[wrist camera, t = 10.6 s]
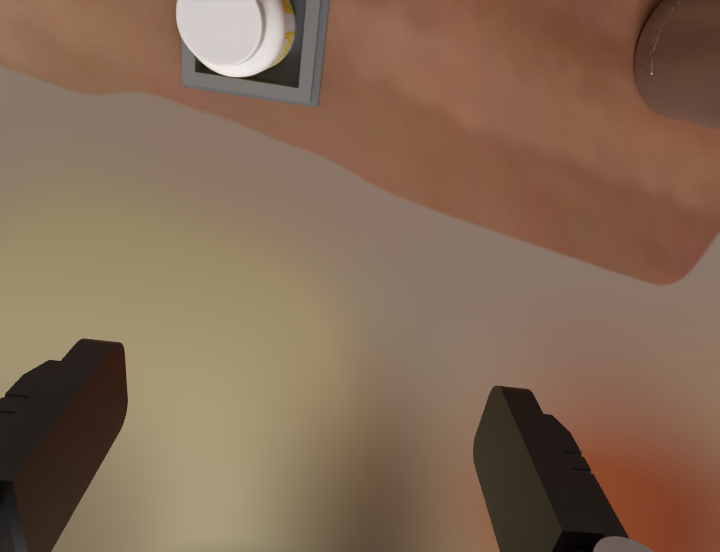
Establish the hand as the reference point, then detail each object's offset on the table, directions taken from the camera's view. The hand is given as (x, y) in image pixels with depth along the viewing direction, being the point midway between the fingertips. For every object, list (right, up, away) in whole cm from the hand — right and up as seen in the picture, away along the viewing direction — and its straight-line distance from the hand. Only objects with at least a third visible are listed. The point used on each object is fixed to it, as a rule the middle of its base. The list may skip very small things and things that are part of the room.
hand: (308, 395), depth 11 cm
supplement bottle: (-6, +19, +21) cm, 29 cm away
